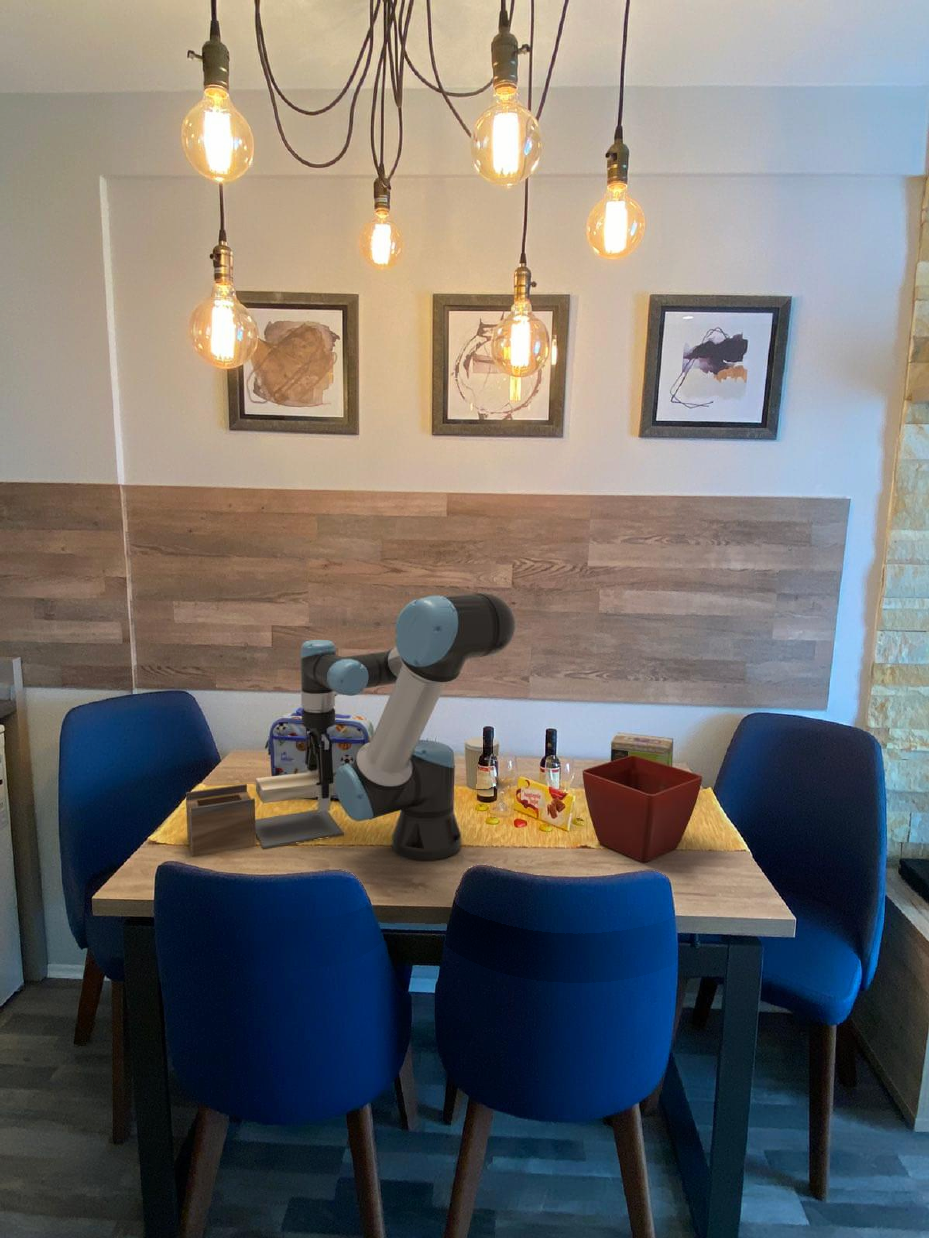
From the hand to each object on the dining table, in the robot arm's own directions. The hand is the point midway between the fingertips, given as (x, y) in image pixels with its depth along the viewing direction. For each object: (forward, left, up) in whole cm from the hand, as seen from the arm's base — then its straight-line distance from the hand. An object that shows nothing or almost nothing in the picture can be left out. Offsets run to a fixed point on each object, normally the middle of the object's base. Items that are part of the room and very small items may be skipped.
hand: (319, 803), depth 175 cm
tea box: (-14, -83, -5) cm, 84 cm away
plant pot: (-39, -62, -5) cm, 73 cm away
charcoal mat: (0, +5, -5) cm, 8 cm away
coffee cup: (+8, -47, -5) cm, 47 cm away
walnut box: (0, +22, -5) cm, 23 cm away
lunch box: (+19, -6, -5) cm, 20 cm away
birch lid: (0, +6, +3) cm, 7 cm away
